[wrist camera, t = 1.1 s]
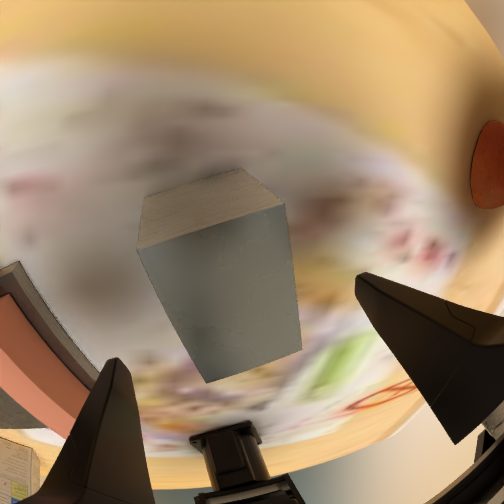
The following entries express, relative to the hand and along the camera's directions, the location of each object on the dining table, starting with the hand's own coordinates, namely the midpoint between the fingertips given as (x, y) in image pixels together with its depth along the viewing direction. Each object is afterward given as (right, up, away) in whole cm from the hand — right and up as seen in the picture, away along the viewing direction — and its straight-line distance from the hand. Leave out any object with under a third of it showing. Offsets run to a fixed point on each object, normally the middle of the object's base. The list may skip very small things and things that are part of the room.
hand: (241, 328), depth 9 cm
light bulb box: (-31, -22, +9) cm, 39 cm away
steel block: (-2, +3, +5) cm, 6 cm away
